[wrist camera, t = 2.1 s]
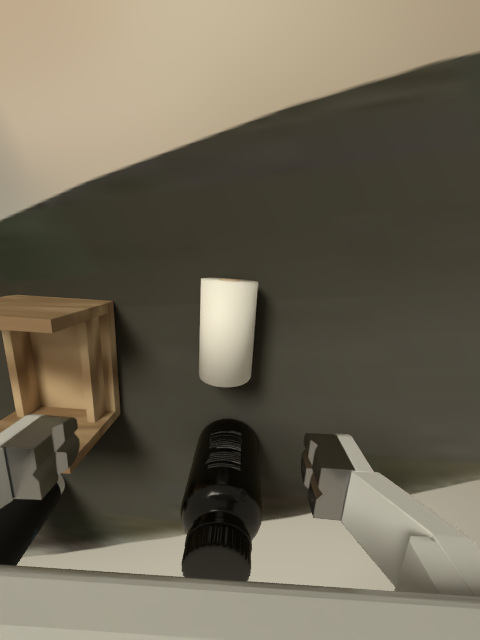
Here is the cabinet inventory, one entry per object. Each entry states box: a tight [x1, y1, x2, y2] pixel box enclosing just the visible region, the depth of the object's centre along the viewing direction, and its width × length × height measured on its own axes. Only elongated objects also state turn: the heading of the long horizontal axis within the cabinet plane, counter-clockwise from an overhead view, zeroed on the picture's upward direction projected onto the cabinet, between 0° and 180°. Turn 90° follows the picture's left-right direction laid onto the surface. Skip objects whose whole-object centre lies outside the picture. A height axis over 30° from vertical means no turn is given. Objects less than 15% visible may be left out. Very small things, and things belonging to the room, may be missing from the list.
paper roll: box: [199, 278, 258, 387], centre depth 22 cm, size 9×5×5 cm, turn 177°
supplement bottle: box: [181, 419, 262, 581], centre depth 22 cm, size 7×7×12 cm
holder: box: [0, 295, 120, 474], centre depth 22 cm, size 13×10×8 cm
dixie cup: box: [0, 474, 65, 566], centre depth 25 cm, size 8×8×11 cm
